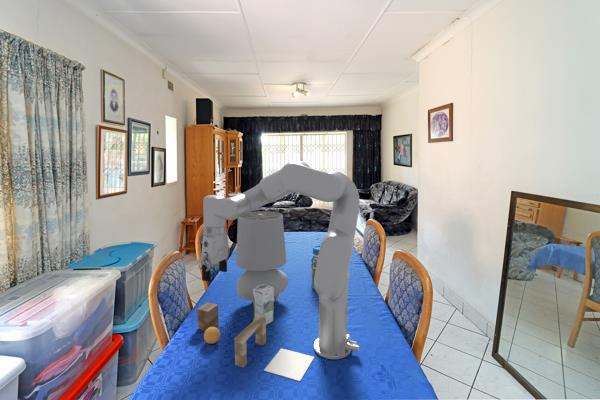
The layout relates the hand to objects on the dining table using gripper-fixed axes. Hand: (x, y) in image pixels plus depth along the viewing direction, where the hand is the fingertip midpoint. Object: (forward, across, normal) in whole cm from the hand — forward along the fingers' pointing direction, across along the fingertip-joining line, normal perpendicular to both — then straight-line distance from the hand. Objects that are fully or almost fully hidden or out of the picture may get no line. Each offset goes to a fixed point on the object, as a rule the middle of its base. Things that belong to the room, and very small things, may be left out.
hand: (214, 275), depth 117 cm
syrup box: (+21, +12, -14) cm, 28 cm away
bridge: (+21, -7, -20) cm, 29 cm away
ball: (+19, -6, -3) cm, 20 cm away
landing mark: (+20, -7, -34) cm, 40 cm away
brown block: (+22, +2, +4) cm, 22 cm away
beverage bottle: (+21, +52, -23) cm, 61 cm away
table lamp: (+22, +27, -6) cm, 35 cm away
